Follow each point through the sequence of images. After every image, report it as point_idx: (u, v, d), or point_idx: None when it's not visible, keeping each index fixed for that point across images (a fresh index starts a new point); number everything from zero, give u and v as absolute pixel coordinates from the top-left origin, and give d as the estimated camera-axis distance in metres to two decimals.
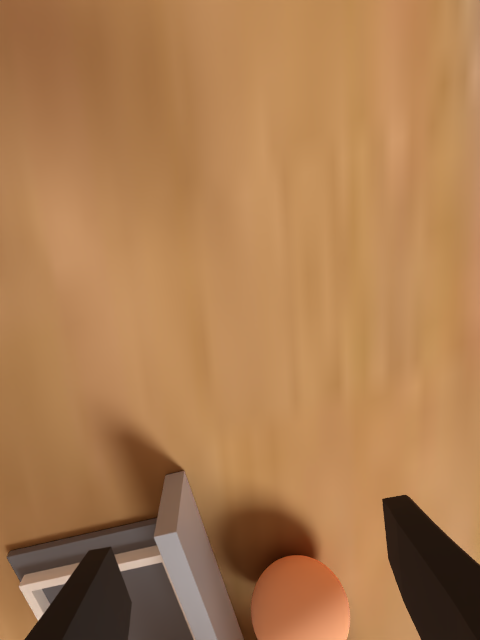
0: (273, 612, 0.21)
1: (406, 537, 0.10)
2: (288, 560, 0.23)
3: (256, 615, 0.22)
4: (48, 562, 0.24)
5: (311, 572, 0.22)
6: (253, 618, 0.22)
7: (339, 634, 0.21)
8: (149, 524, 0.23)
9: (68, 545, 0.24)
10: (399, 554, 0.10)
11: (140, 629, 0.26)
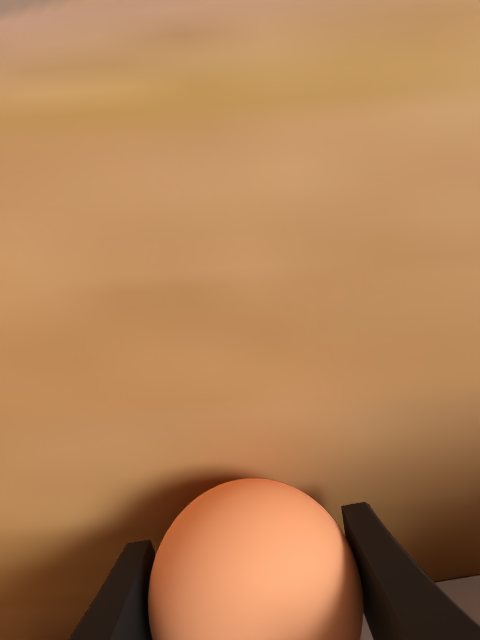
0: None
1: (359, 545, 0.10)
2: None
3: None
4: None
5: (152, 568, 0.10)
6: None
7: (228, 612, 0.08)
8: None
9: None
10: None
11: None
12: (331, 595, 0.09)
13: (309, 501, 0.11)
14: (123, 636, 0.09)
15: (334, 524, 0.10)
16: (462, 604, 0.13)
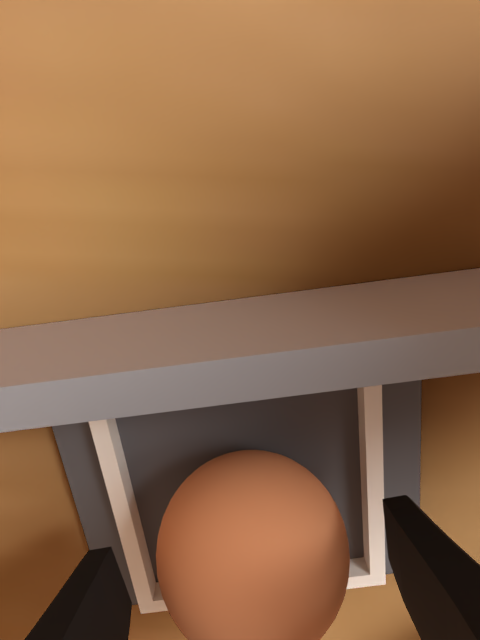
0: None
1: (406, 537, 0.10)
2: None
3: None
4: (122, 562, 0.15)
5: None
6: None
7: (229, 559, 0.09)
8: None
9: (89, 531, 0.15)
10: (399, 554, 0.10)
11: None
12: (320, 546, 0.10)
13: (301, 468, 0.12)
14: None
15: (323, 488, 0.12)
16: (438, 282, 0.12)
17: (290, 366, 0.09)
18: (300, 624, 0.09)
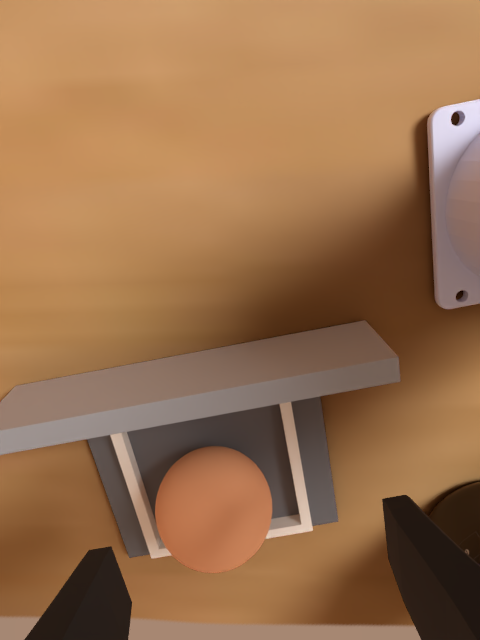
0: None
1: (406, 537, 0.10)
2: None
3: None
4: (137, 525, 0.22)
5: None
6: None
7: (193, 508, 0.17)
8: None
9: (114, 505, 0.22)
10: (399, 554, 0.10)
11: (246, 452, 0.21)
12: (246, 499, 0.17)
13: (240, 456, 0.19)
14: None
15: (254, 467, 0.19)
16: (317, 336, 0.19)
17: (217, 398, 0.16)
18: (235, 542, 0.17)
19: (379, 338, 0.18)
